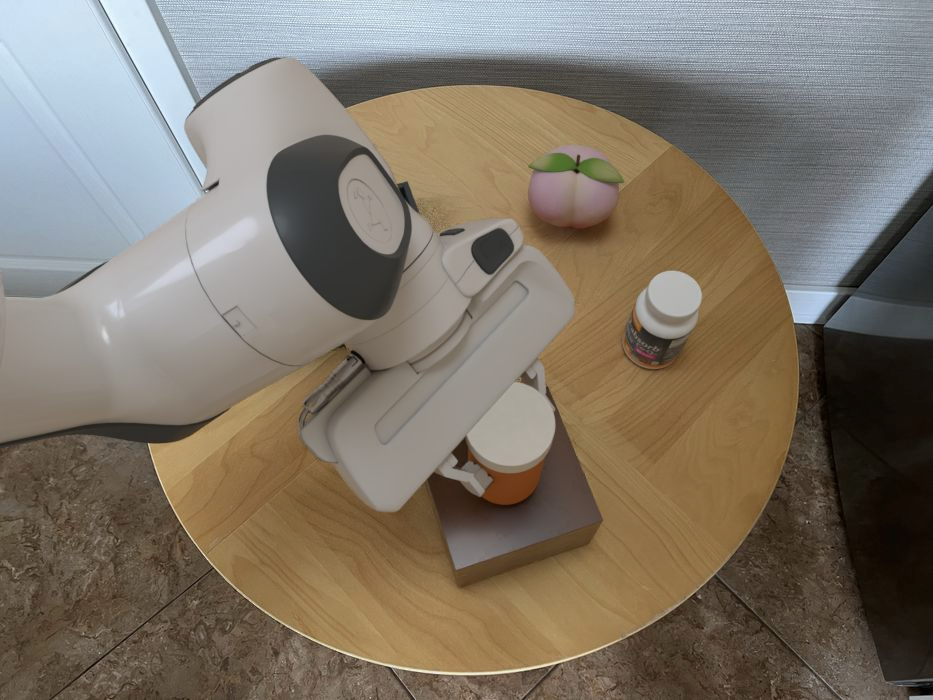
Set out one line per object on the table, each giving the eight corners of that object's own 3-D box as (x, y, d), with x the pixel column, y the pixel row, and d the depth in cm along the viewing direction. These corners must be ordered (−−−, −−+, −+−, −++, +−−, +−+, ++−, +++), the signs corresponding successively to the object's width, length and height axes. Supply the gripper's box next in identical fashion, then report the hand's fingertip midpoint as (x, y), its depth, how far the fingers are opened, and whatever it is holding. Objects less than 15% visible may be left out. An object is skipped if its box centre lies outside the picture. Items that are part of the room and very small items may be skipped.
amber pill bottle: (480, 518, 57) (481, 478, 48) (455, 446, 60) (452, 395, 51) (554, 493, 58) (569, 449, 49) (527, 423, 60) (536, 370, 51)
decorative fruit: (610, 188, 83) (627, 122, 74) (612, 250, 79) (629, 189, 70) (524, 184, 83) (530, 118, 74) (522, 245, 79) (528, 184, 70)
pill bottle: (609, 343, 74) (627, 290, 65) (648, 309, 76) (671, 253, 67) (652, 382, 72) (677, 334, 63) (692, 346, 74) (721, 294, 65)
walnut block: (457, 588, 64) (455, 570, 57) (417, 459, 69) (410, 428, 62) (589, 543, 65) (603, 520, 58) (540, 420, 70) (547, 385, 63)
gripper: (300, 430, 42) (439, 580, 47) (530, 203, 49) (627, 358, 54) (265, 412, 47) (394, 549, 53) (477, 210, 54) (570, 350, 60)
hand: (514, 451), depth 54 cm, fingers closed on amber pill bottle, 5 cm apart
